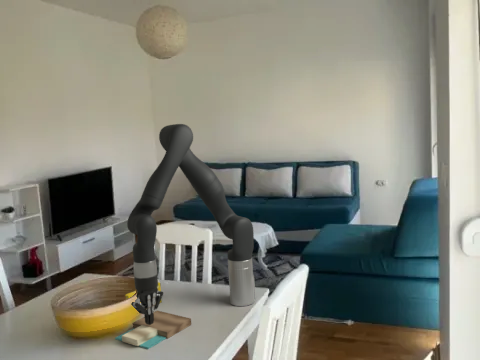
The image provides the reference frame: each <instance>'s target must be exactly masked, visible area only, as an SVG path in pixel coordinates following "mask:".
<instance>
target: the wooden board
mask: <svg viewBox="0 0 480 360" xmlns="http://www.w3.org/2000/svg"><path fill="white" fill-rule="evenodd" d="M141 325H144V326H148V327H152V328H155V329H157V332H158V335H159V336H163V337H166V339H167V340H168V339H170V338H171V337H172V336H175V335H177V334H178V333H179V332H180V333H181V331H183V330H185V329H186V328H188V327H190V326H192V318H190V317H186V316H182V315H178V314H175V313H174V314H173V313H169V312H165V311H160V310H154V323H153V324H151V325H148V324H146V323H145V316H143V317H142V318H140V319H138V320H136V321H133V322H132V329H133V328H134V329H135V328H137V327H139V326H141Z"/></svg>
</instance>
